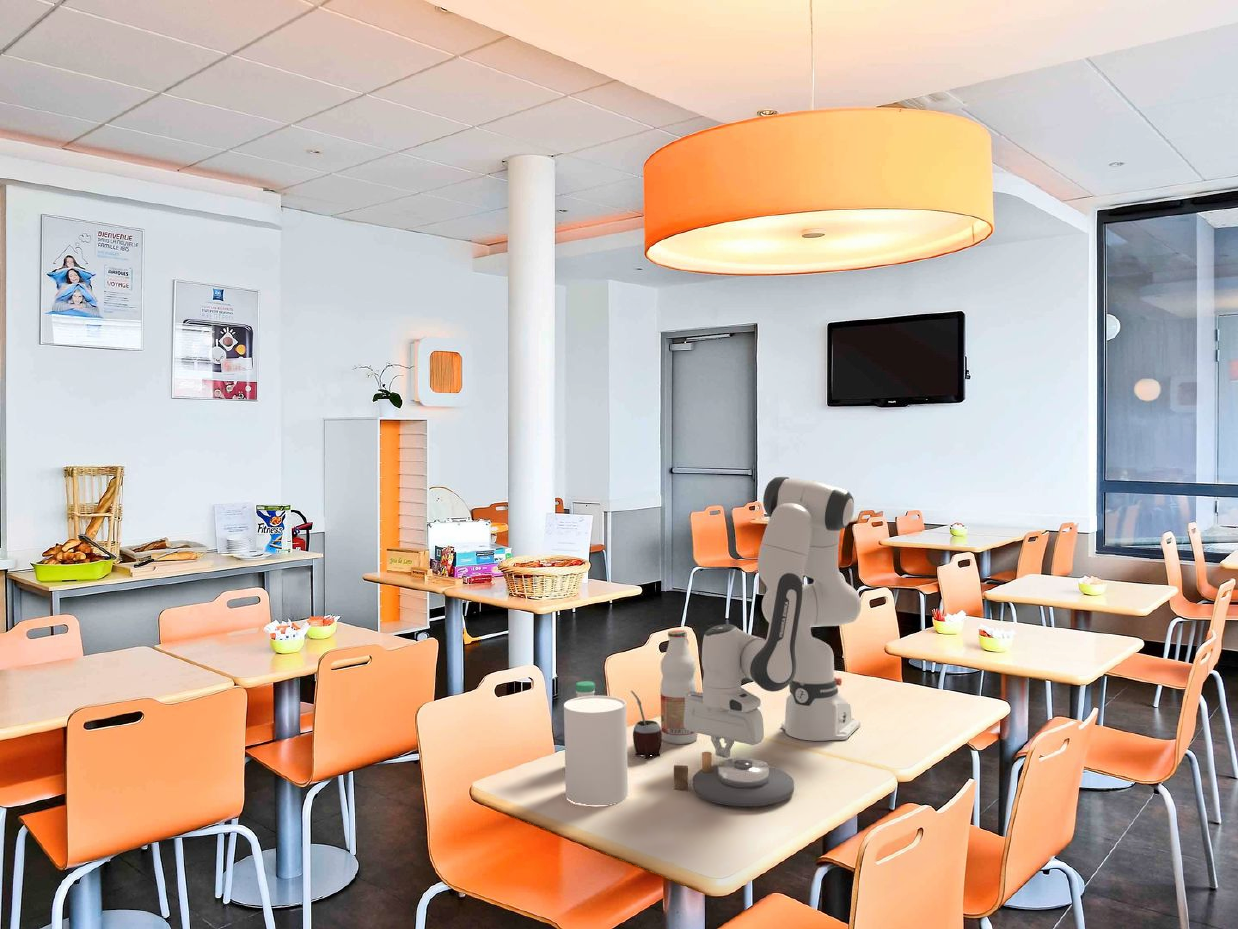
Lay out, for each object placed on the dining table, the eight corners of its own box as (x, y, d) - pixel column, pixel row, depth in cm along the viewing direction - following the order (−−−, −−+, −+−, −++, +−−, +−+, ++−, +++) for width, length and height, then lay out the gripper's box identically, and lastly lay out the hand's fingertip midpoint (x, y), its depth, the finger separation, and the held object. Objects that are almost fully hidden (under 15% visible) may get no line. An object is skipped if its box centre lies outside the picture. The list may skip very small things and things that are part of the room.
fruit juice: (678, 747, 233) (676, 636, 233) (653, 739, 240) (651, 631, 240) (705, 739, 239) (703, 631, 238) (680, 731, 246) (678, 626, 246)
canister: (639, 790, 204) (637, 700, 204) (607, 811, 193) (605, 715, 192) (587, 780, 211) (585, 693, 211) (553, 800, 199) (551, 707, 199)
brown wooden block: (688, 788, 205) (687, 765, 205) (687, 790, 203) (687, 768, 203) (674, 787, 205) (674, 765, 205) (674, 790, 204) (673, 767, 204)
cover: (736, 768, 210) (736, 751, 210) (778, 778, 203) (778, 761, 203) (708, 781, 202) (707, 764, 202) (750, 793, 194) (750, 775, 194)
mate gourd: (660, 761, 223) (659, 699, 223) (628, 760, 224) (626, 698, 224) (663, 751, 231) (662, 691, 230) (632, 750, 232) (631, 690, 232)
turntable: (729, 763, 218) (728, 739, 218) (812, 783, 203) (812, 758, 203) (672, 790, 201) (671, 765, 201) (758, 814, 187) (758, 787, 187)
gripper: (677, 692, 217) (678, 751, 217) (751, 706, 204) (752, 769, 204) (693, 687, 222) (694, 744, 222) (766, 700, 209) (767, 761, 209)
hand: (722, 756), depth 213 cm, fingers closed
